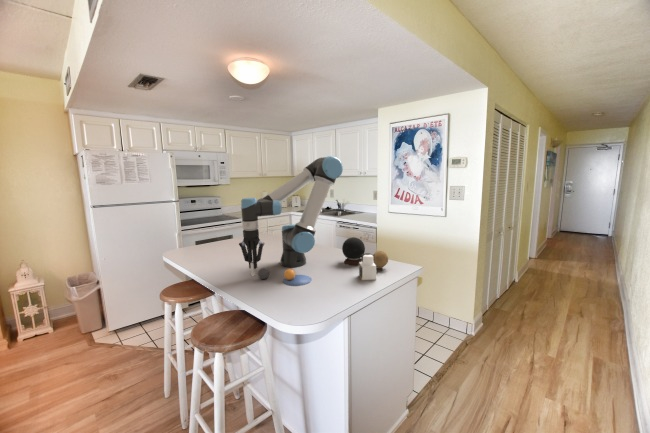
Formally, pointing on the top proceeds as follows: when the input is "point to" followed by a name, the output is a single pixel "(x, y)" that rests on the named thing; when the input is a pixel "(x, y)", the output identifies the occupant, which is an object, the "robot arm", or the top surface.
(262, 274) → the dark gray ball
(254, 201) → the robot arm
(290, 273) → the object ball
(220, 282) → the top surface
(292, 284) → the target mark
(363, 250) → the black sphere on pedestal
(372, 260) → the medicine bottle
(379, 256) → the tan sphere on base
